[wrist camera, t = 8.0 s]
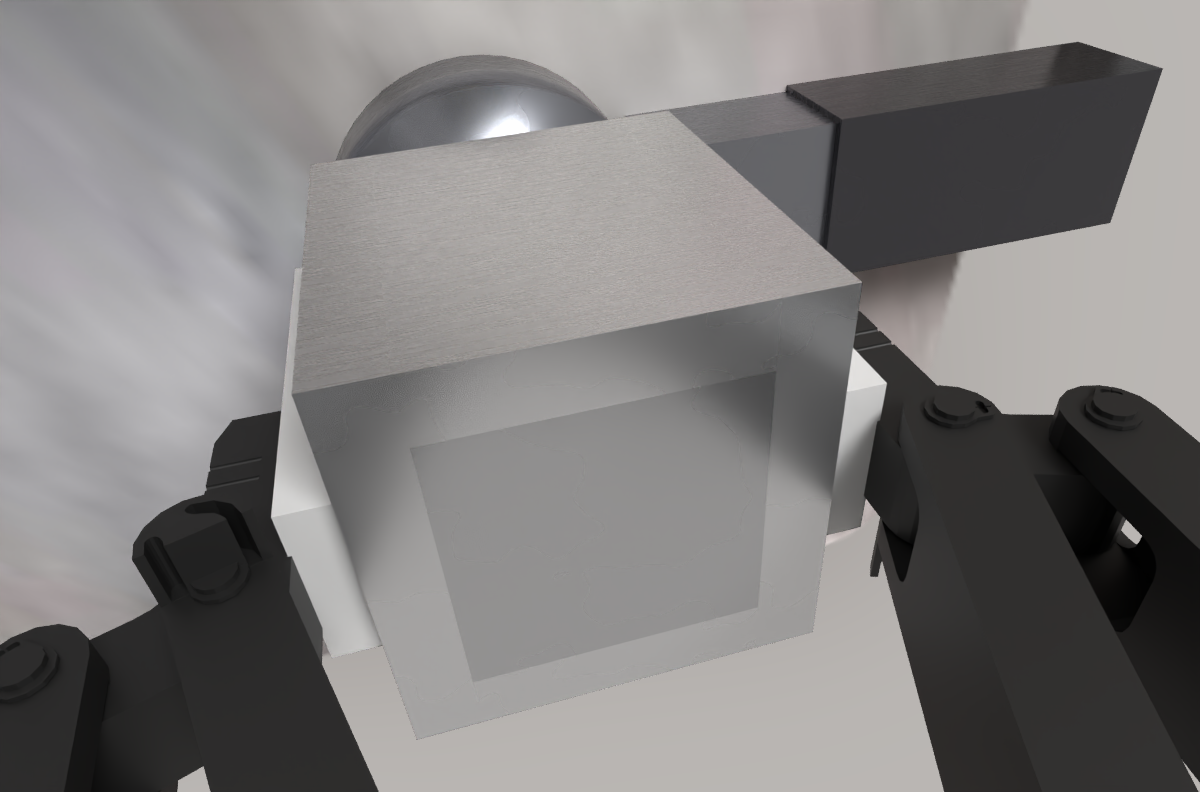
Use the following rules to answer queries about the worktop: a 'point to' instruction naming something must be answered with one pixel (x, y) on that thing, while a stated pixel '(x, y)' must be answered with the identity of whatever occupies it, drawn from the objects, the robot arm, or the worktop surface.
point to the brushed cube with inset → (569, 408)
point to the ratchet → (851, 142)
